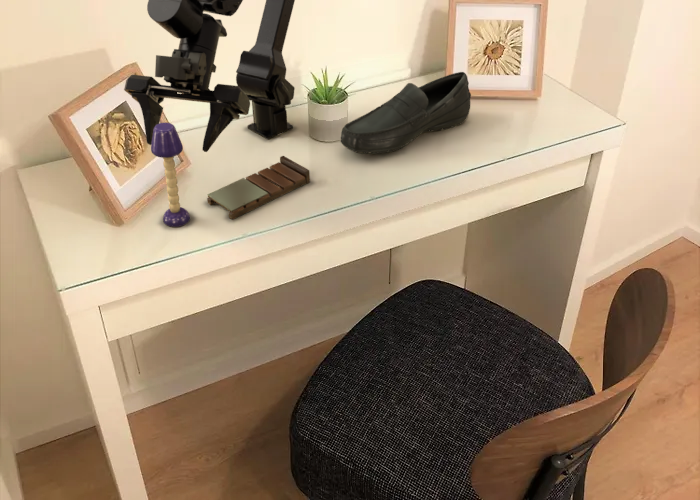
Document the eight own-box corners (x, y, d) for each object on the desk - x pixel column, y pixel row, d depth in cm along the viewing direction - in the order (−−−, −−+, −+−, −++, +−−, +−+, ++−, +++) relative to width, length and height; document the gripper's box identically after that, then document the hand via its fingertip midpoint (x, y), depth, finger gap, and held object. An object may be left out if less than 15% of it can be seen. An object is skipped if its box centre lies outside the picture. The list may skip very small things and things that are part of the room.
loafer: (329, 150, 138) (327, 99, 132) (438, 103, 154) (441, 55, 148) (367, 172, 132) (367, 119, 126) (477, 120, 147) (482, 71, 141)
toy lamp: (193, 210, 123) (179, 117, 113) (194, 226, 119) (179, 132, 109) (163, 213, 122) (146, 120, 112) (163, 230, 118) (145, 135, 108)
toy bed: (232, 220, 121) (231, 207, 119) (207, 202, 125) (205, 190, 123) (310, 182, 130) (309, 170, 128) (284, 167, 134) (283, 155, 132)
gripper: (118, 23, 112) (95, 124, 110) (236, 34, 109) (215, 138, 107) (150, 54, 123) (130, 146, 121) (259, 65, 119) (240, 160, 117)
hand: (176, 147), depth 116 cm, fingers open, 9 cm apart
